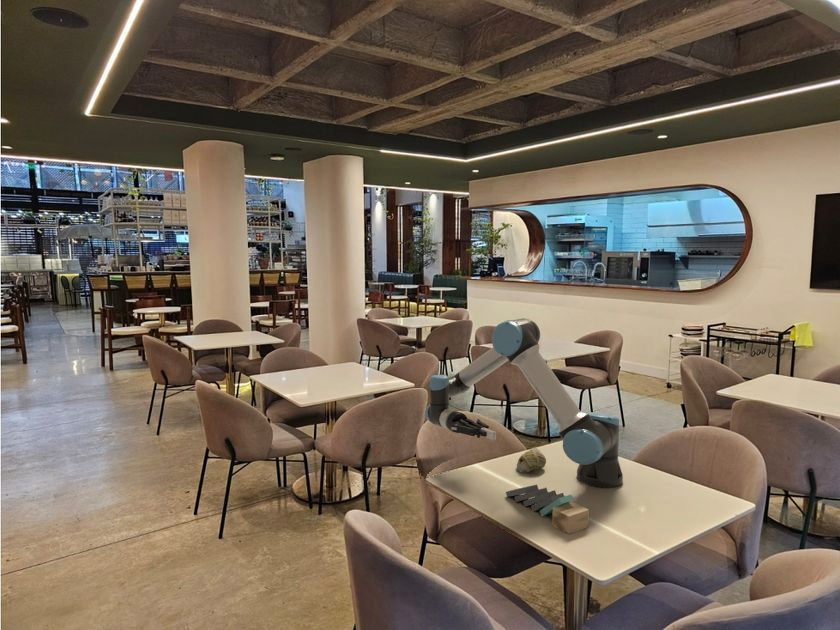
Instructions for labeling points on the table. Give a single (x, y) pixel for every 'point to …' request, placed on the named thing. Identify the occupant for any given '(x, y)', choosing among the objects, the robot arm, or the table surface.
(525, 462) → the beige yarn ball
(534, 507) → the domino
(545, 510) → the domino
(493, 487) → the table surface
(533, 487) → the domino
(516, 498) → the domino
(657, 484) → the table surface
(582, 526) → the stop block
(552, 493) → the domino
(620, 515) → the table surface
